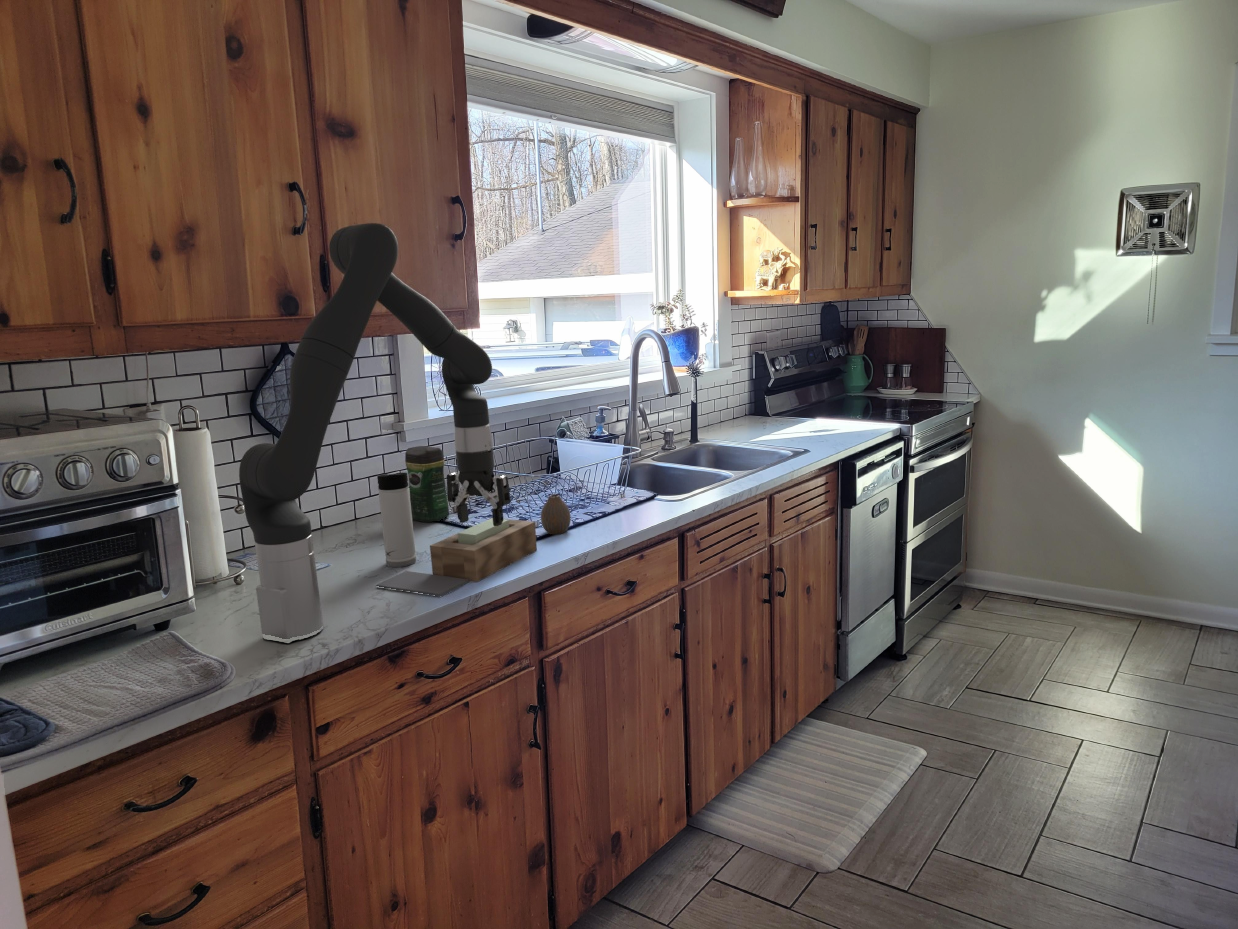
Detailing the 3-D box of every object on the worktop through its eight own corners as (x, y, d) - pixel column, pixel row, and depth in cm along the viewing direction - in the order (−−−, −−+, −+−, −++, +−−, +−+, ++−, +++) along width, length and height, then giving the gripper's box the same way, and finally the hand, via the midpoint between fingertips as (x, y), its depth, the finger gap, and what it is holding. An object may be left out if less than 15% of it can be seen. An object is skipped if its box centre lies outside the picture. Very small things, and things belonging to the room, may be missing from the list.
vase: (536, 534, 213) (533, 498, 211) (551, 527, 219) (549, 491, 217) (561, 537, 209) (559, 500, 208) (576, 529, 215) (574, 493, 214)
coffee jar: (455, 517, 232) (448, 445, 229) (430, 524, 226) (423, 450, 223) (430, 512, 238) (423, 442, 235) (405, 519, 232) (398, 447, 229)
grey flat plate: (440, 597, 174) (440, 594, 174) (376, 587, 181) (375, 584, 181) (469, 582, 182) (469, 579, 181) (406, 573, 189) (406, 570, 189)
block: (476, 553, 186) (475, 535, 185) (459, 551, 188) (457, 533, 188) (510, 537, 197) (508, 519, 196) (493, 536, 199) (491, 518, 198)
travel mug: (386, 569, 193) (376, 476, 188) (386, 560, 199) (376, 470, 195) (417, 565, 194) (408, 473, 190) (415, 556, 200) (406, 467, 196)
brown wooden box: (476, 582, 181) (474, 550, 180) (432, 576, 186) (429, 545, 185) (537, 550, 200) (534, 521, 199) (495, 545, 205) (493, 517, 204)
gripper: (434, 449, 187) (442, 525, 191) (492, 452, 181) (498, 531, 184) (457, 442, 194) (464, 516, 197) (513, 444, 187) (519, 521, 191)
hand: (480, 523), depth 191 cm, fingers open, 8 cm apart
